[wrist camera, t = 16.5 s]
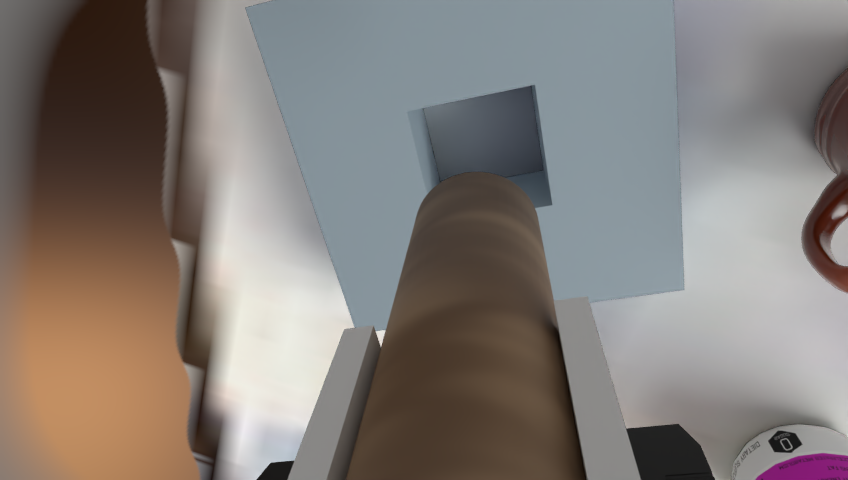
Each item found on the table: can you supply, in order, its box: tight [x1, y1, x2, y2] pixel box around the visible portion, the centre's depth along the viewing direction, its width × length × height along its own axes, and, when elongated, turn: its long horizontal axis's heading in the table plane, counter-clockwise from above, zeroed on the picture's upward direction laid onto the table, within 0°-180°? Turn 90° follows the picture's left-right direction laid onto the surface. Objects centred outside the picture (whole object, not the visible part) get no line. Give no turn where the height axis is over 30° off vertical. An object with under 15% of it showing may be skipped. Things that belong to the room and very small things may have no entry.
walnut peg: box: [346, 172, 586, 480], centre depth 13 cm, size 4×4×16 cm
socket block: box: [245, 0, 684, 331], centre depth 29 cm, size 18×18×5 cm
